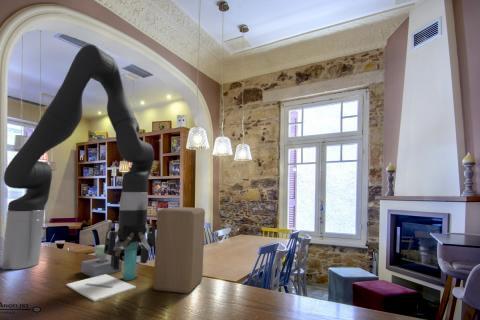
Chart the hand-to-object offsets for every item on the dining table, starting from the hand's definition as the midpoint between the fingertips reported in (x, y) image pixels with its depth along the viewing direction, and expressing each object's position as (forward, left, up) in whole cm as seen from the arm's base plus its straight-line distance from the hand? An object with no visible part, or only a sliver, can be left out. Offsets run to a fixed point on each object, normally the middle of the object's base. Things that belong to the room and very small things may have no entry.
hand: (130, 266), depth 72 cm
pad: (0, -8, -3) cm, 9 cm away
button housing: (-12, -2, -3) cm, 12 cm away
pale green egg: (-12, -2, -1) cm, 12 cm away
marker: (0, 0, -3) cm, 3 cm away
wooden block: (+15, +5, -3) cm, 16 cm away
